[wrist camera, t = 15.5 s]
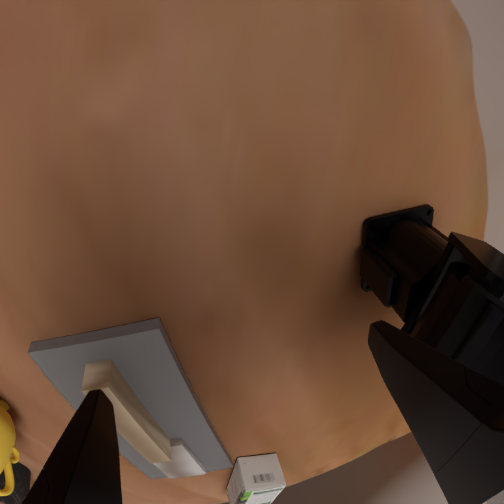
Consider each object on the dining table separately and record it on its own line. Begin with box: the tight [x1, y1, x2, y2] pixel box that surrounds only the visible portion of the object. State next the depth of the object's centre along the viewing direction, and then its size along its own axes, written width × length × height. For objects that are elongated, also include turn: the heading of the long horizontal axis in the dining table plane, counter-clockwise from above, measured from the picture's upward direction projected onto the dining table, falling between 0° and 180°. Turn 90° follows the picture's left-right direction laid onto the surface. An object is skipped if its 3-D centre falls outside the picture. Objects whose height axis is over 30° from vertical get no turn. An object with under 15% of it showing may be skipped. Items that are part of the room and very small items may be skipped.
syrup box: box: [226, 453, 286, 504], centre depth 39 cm, size 6×6×14 cm
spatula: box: [81, 359, 206, 479], centre depth 27 cm, size 5×24×3 cm, turn 9°
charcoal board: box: [28, 318, 233, 479], centre depth 29 cm, size 12×28×1 cm, turn 9°
